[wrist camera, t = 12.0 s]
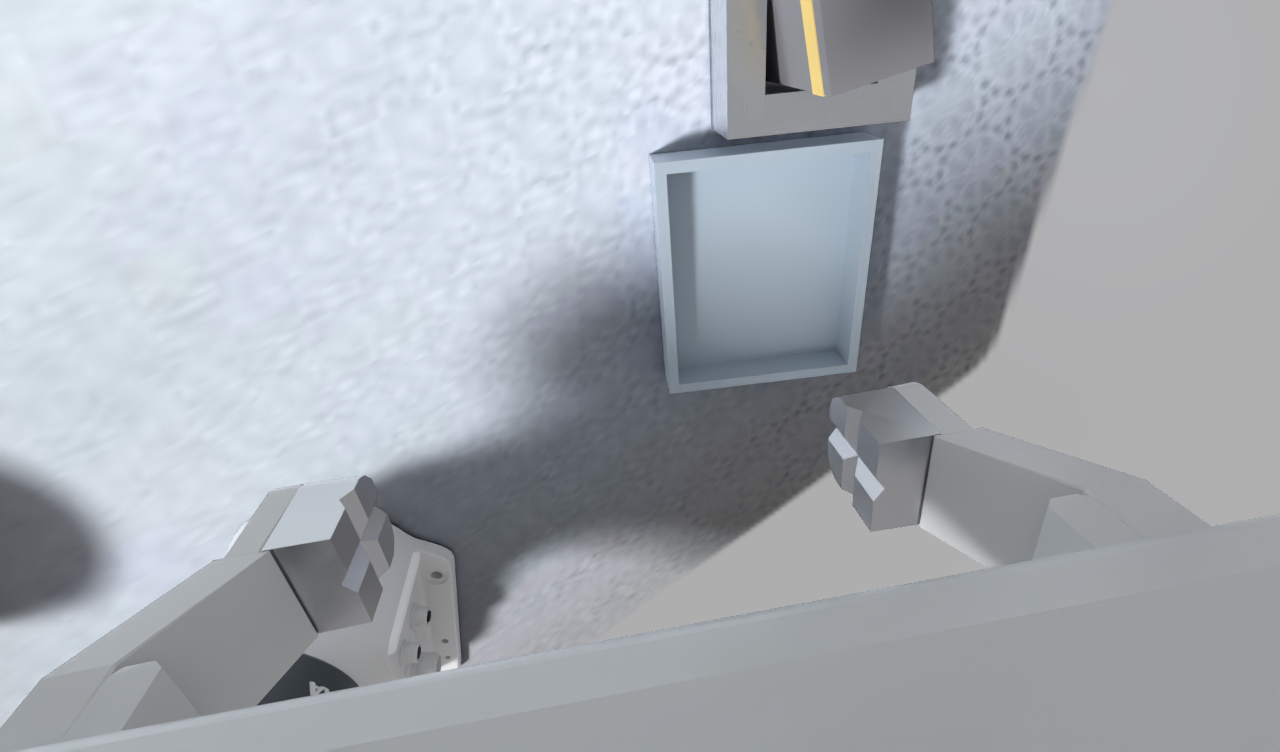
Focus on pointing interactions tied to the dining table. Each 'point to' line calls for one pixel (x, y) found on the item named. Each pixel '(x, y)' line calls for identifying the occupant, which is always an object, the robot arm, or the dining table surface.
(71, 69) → the dining table surface
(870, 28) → the plug
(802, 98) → the double slot holder
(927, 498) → the robot arm
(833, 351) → the tray
